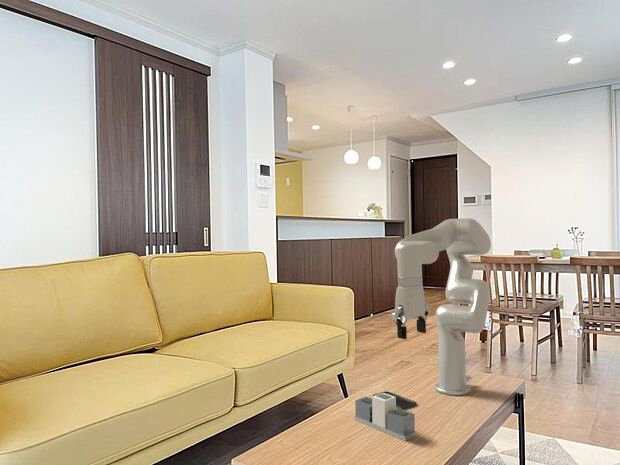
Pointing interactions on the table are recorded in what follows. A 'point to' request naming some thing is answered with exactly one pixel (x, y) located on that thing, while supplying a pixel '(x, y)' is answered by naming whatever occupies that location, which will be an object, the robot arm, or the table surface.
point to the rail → (397, 419)
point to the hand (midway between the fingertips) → (412, 335)
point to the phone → (401, 401)
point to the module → (382, 408)
